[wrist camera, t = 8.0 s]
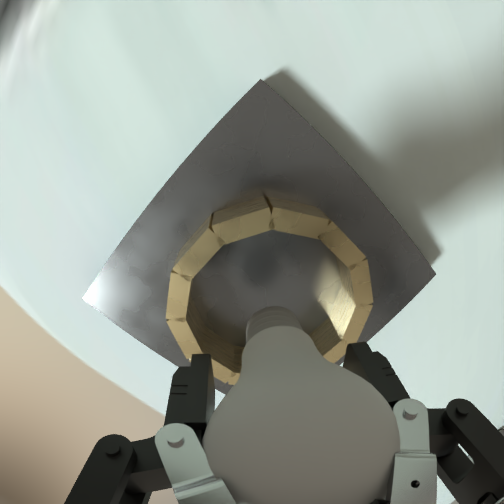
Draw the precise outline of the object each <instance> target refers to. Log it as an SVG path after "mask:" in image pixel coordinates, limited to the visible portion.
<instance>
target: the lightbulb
mask: <svg viewBox="0 0 504 504" xmlns="http://www.w3.org/2000/svg"><path fill="white" fill-rule="evenodd" d="M201 446H202V448H203V450H204V452H205V454H206V457H207V461H208V465H209V467H210V469H211V471H212V473H213V474H214V476H216V477H218V476H219V477H220V478H221V479H222V480H223V482H224V484H225V485H226V487H227V489H228V490H229V492H230V494H231V495H232V497H233V499H234V500H235V502H236V504H370V503H371V502H373V501H374V500H375V499H376V500H384V498H385V497H386V494H387V483H388V479H389V476H390V472H391V468H392V465H393V459H394V454H395V452H400V433H399V429H398V424H397V420H396V417H395V415H394V413H393V411H392V409H391V407H390V405H389V404H388V402H387V401H386V400H385V398H384V397H383V396H382V395H381V394H380V393H379V392H378V391H377V390H376V389H375V388H374V386H373V385H372V384H370V383H369V382H367V381H366V380H364V379H363V378H362V377H360V376H358V375H356V374H354V373H353V372H351V371H349V370H347V369H345V368H343V367H341V366H339V365H336V364H334V363H332V362H329V361H328V360H326V359H325V358H324V357H323V356H322V355H321V354H320V352H319V351H318V350H317V348H316V346H315V344H314V342H313V340H312V339H311V338H310V336H309V335H308V334H306V333H305V332H304V331H303V329H302V327H301V325H300V323H299V321H298V320H297V318H296V316H295V315H294V313H293V312H291V311H290V310H288V309H286V308H284V307H280V306H271V307H266V308H263V309H261V310H259V311H257V312H256V313H255V314H253V315H252V316H251V318H250V319H249V321H248V323H247V328H246V346H245V348H244V350H243V353H242V368H241V373H240V377H239V379H238V381H237V383H236V384H235V385H234V386H233V387H232V388H231V390H230V391H229V392H228V393H227V394H226V396H225V397H224V398H223V400H222V401H221V402H220V404H219V405H218V407H217V408H216V410H215V411H214V412H213V414H212V415H211V418H210V420H209V422H208V424H207V427H206V430H205V433H204V436H203V439H202V445H201Z"/></svg>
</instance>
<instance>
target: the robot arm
mask: <svg viewBox="0 0 504 504" xmlns="http://www.w3.org/2000/svg"><path fill="white" fill-rule="evenodd" d="M343 368H345V369H347V370H349V371H351V372H353V373H354V374H356V375H358V376H360V377H362V378H363V379H364V380H366V381H367V382H369V383H370V384H372V385H373V386H374V388H375V389H376V390H377V391H378V392H379V393H380V394H381V395H382V396H383V397H384V398H385V400H386V401H387V402H388V404H389V405H390V407H391V409H392V411H393V413H394V415H395V417H396V420H397V424H398V429H399V433H400V452H395V454H394V459H393V465H392V468H391V472H390V476H389V479H388V483H387V494H386V497H385V498H384V500H376V499H375V500H374V501H373V502H371V503H370V504H436V498H437V475H438V476H439V478H440V479H441V480H442V482H443V483H444V484H445V486H446V487H447V488H448V490H449V491H450V492H451V494H452V495H453V496H454V498H455V499H456V500H457V502H458V503H459V504H504V429H502V430H500V431H498V430H497V429H496V427H495V426H494V425H493V424H492V423H491V422H490V421H489V420H488V419H487V418H486V417H485V416H484V415H483V414H482V413H481V412H480V411H479V410H478V409H477V408H476V407H475V406H474V405H473V404H472V403H471V402H470V401H468V400H465V399H454V400H452V401H450V402H449V403H448V405H447V407H446V408H443V409H429V408H426V407H425V405H424V404H423V403H421V402H420V401H418V400H415V399H411V398H410V397H409V395H408V393H407V392H406V390H405V388H404V386H403V385H402V383H401V381H400V380H399V378H398V376H397V375H396V374H395V371H394V370H393V368H392V366H391V365H390V363H389V361H388V360H387V358H386V357H384V356H383V355H382V354H380V353H379V352H378V351H377V352H372V351H371V349H370V347H369V345H368V344H367V342H365V341H364V342H357V343H349V344H348V345H347V348H346V353H345V358H344V363H343ZM214 409H215V384H214V375H213V367H212V360H211V354H192V357H191V365H190V366H180V367H179V368H178V369H177V371H176V372H175V373H174V375H173V378H172V383H171V389H170V395H169V400H168V405H167V411H166V417H165V423H164V426H163V427H162V428H161V429H160V430H159V431H158V432H157V434H156V435H155V436H153V437H151V438H148V439H144V440H139V441H134V442H130V441H129V440H128V439H127V438H126V437H124V436H122V435H117V434H112V435H107V436H105V437H103V438H101V439H100V440H99V441H98V442H97V443H96V445H95V447H94V449H93V450H92V453H91V454H90V456H89V458H88V460H87V461H86V463H85V465H84V467H83V469H82V471H81V473H80V475H79V476H78V478H77V480H76V482H75V484H74V486H73V488H72V490H71V492H70V494H69V495H68V497H67V499H66V501H65V503H64V504H148V501H149V499H150V496H151V493H152V492H153V491H158V490H163V489H168V488H172V487H173V489H174V493H175V496H176V498H177V500H178V503H179V504H236V502H235V500H234V499H233V497H232V495H231V494H230V492H229V490H228V489H227V487H226V485H225V484H224V482H223V480H222V479H221V478H220V477H219V476H218V477H216V476H214V474H213V473H212V471H211V469H210V467H209V465H208V461H207V457H206V454H205V452H204V450H203V448H202V446H201V445H202V439H203V436H204V433H205V430H206V427H207V424H208V422H209V420H210V418H211V415H212V414H213V412H214ZM458 444H460V445H461V446H462V447H463V448H464V450H465V451H466V452H467V453H468V454H469V456H468V457H467V455H466V454H465V453H464V452H463V451H462V450H461V448H460V447H459V446H458Z"/></svg>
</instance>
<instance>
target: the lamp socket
mask: <svg viewBox="0 0 504 504" xmlns="http://www.w3.org/2000/svg"><path fill="white" fill-rule="evenodd" d="M435 275H436V273H435V272H434V270H433V269H432V267H431V266H430V265H429V263H428V262H427V260H426V259H425V258H424V256H423V255H422V253H421V252H420V251H419V249H418V248H417V247H416V245H415V244H414V243H413V241H412V240H411V239H410V237H409V236H408V235H407V233H406V232H405V231H404V230H403V228H402V227H401V226H400V225H399V223H398V222H397V221H396V219H395V218H394V217H393V216H392V214H391V213H390V212H389V211H388V210H387V208H386V207H385V206H384V205H383V203H382V202H381V201H380V200H379V199H378V198H377V196H376V195H375V194H374V193H373V192H372V190H371V189H370V188H369V187H368V186H367V185H366V184H365V182H364V181H363V180H362V179H361V178H360V177H359V176H358V174H357V173H356V172H355V171H354V170H353V169H352V168H351V167H350V166H349V164H348V163H347V162H346V161H345V160H344V159H343V158H342V157H341V156H340V155H339V154H338V153H337V152H336V151H335V149H334V148H333V147H332V146H331V145H330V144H329V143H328V142H327V141H326V140H325V139H324V138H323V137H322V136H321V135H320V134H319V133H318V132H317V131H316V130H315V129H314V128H313V127H312V126H311V125H310V124H309V123H308V122H307V121H306V120H305V119H304V118H303V117H302V116H301V115H300V114H299V113H298V112H297V111H295V110H294V109H293V108H292V107H291V106H290V105H289V104H288V103H287V102H286V101H285V100H284V99H283V98H282V97H280V96H279V95H278V94H277V93H276V92H275V91H274V90H273V89H272V88H270V87H269V86H268V85H267V84H266V83H265V82H264V81H262V80H261V79H260V80H259V81H258V82H257V83H256V84H255V85H254V86H253V87H252V88H251V89H250V90H249V91H248V92H247V93H246V94H245V95H244V96H243V97H242V98H241V99H240V100H239V101H238V102H237V103H236V104H235V105H234V106H233V107H232V108H231V110H230V111H229V112H228V113H227V114H226V115H225V116H224V117H223V118H222V119H221V120H220V121H219V122H218V123H217V124H216V126H215V127H214V128H213V129H212V130H211V131H210V132H209V133H208V134H207V135H206V137H205V138H204V139H203V140H202V141H201V142H200V143H199V144H198V146H197V147H196V148H195V149H194V150H193V151H192V152H191V154H190V155H189V156H188V157H187V158H186V159H185V161H184V162H183V163H182V164H181V165H180V166H179V168H178V169H177V170H176V171H175V172H174V174H173V175H172V176H171V177H170V178H169V180H168V181H167V182H166V183H165V185H164V186H163V187H162V188H161V190H160V191H159V192H158V193H157V195H156V196H155V197H154V198H153V200H152V201H151V202H150V203H149V205H148V206H147V207H146V209H145V210H144V211H143V213H142V214H141V215H140V216H139V218H138V219H137V220H136V222H135V223H134V224H133V226H132V227H131V229H130V230H129V231H128V233H127V234H126V235H125V237H124V238H123V239H122V241H121V242H120V244H119V245H118V246H117V248H116V249H115V251H114V252H113V253H112V255H111V256H110V258H109V259H108V261H107V262H106V264H105V265H104V267H103V268H102V269H101V271H100V272H99V274H98V275H97V277H96V278H95V280H94V281H93V283H92V284H91V286H90V288H89V289H88V291H87V292H86V294H85V295H84V297H83V298H82V299H83V300H85V301H86V302H87V303H88V304H90V305H91V306H92V307H94V308H95V309H96V310H97V311H99V312H100V313H101V314H103V315H104V316H105V317H107V318H108V319H109V320H111V321H112V322H113V323H115V324H116V325H117V326H119V327H120V328H122V329H123V330H124V331H126V332H127V333H129V334H130V335H131V336H133V337H134V338H136V339H137V340H139V341H140V342H141V343H143V344H144V345H146V346H147V347H149V348H150V349H152V350H153V351H155V352H156V353H158V354H159V355H161V356H162V357H164V358H165V359H167V360H169V361H170V362H172V363H173V364H175V365H176V366H178V367H180V366H190V365H191V357H192V354H211V360H212V367H213V375H214V384H215V389H217V390H218V391H220V392H222V393H224V394H227V393H228V392H229V391H230V390H231V388H232V387H233V386H234V385H235V384H236V383H237V381H238V379H239V377H240V373H241V368H242V353H243V350H244V348H245V346H246V328H247V323H248V321H249V319H250V318H251V316H252V315H253V314H255V313H256V312H257V311H259V310H261V309H263V308H266V307H271V306H280V307H284V308H286V309H288V310H290V311H291V312H293V313H294V315H295V316H296V318H297V320H298V321H299V323H300V325H301V327H302V329H303V331H304V332H305V333H306V334H308V335H309V336H310V338H311V339H312V340H313V342H314V344H315V346H316V348H317V350H318V351H319V352H320V354H321V355H322V356H323V357H324V358H325V359H326V360H328V361H329V362H332V363H334V364H336V365H340V364H341V363H343V362H344V358H345V353H346V348H347V345H348V344H349V343H357V342H364V341H365V342H367V341H368V340H370V339H371V338H372V337H373V336H374V335H375V334H376V333H377V332H378V331H380V330H381V329H382V328H383V327H384V326H385V325H386V324H387V323H388V322H389V321H390V320H391V319H392V318H394V317H395V316H396V315H397V314H398V313H399V312H400V311H401V310H402V309H403V308H404V307H405V306H406V305H407V304H408V303H409V302H410V301H411V300H412V299H413V298H414V297H415V296H416V295H417V294H418V293H419V292H420V291H421V290H422V289H423V288H424V287H425V286H426V285H427V284H428V283H429V281H430V280H431V279H432V278H433V277H434V276H435Z"/></svg>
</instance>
